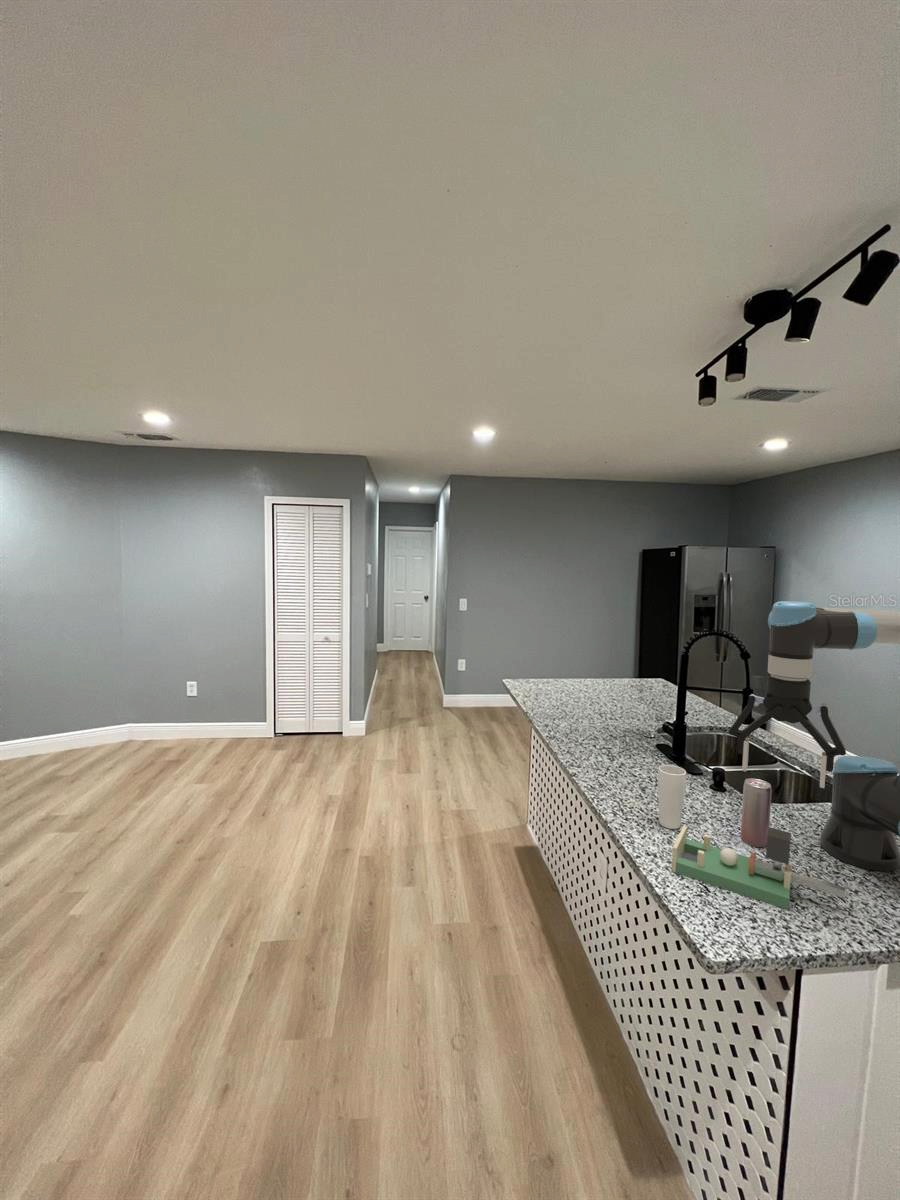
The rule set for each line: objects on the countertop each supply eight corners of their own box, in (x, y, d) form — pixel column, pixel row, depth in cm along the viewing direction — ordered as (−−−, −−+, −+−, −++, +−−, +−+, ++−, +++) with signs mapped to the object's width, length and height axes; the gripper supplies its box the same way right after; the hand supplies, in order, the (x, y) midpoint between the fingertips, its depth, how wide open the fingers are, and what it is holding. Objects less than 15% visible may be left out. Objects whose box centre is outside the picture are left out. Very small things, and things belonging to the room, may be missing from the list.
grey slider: (843, 891, 105) (847, 847, 105) (845, 902, 102) (848, 857, 101) (750, 863, 115) (752, 822, 114) (748, 873, 111) (750, 831, 110)
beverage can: (743, 832, 134) (746, 775, 132) (769, 840, 130) (773, 782, 129) (738, 842, 129) (741, 783, 128) (765, 850, 125) (769, 790, 124)
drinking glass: (667, 833, 133) (669, 776, 132) (650, 820, 139) (652, 765, 138) (689, 829, 135) (692, 773, 133) (671, 817, 141) (674, 763, 140)
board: (790, 880, 114) (792, 855, 113) (788, 909, 104) (790, 883, 104) (682, 847, 126) (683, 825, 126) (671, 871, 116) (672, 847, 116)
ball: (738, 863, 116) (739, 848, 115) (736, 871, 113) (737, 855, 113) (720, 858, 118) (721, 843, 117) (718, 865, 115) (719, 850, 115)
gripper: (864, 682, 103) (856, 786, 104) (723, 665, 117) (718, 757, 119) (867, 689, 97) (859, 800, 98) (718, 671, 111) (712, 768, 113)
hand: (782, 777), depth 109 cm, fingers open, 13 cm apart
